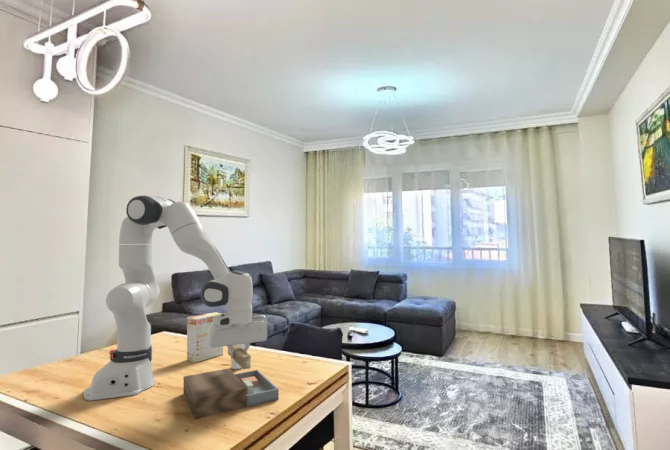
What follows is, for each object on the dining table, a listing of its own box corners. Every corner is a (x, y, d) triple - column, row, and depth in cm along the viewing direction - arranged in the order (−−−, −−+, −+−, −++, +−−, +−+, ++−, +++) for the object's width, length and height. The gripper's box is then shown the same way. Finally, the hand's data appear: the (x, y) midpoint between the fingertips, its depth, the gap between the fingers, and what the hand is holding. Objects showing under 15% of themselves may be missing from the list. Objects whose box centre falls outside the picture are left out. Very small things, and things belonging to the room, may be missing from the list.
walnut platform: (194, 419, 111) (194, 399, 111) (183, 393, 130) (183, 376, 130) (246, 407, 119) (246, 388, 120) (229, 384, 138) (229, 368, 139)
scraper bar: (243, 369, 120) (243, 357, 121) (227, 353, 138) (228, 342, 138) (250, 368, 122) (250, 355, 122) (234, 352, 139) (234, 341, 139)
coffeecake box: (215, 352, 179) (215, 311, 180) (223, 355, 175) (223, 313, 176) (186, 360, 168) (186, 316, 169) (194, 363, 163) (194, 318, 164)
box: (246, 407, 119) (246, 395, 119) (229, 384, 138) (229, 375, 138) (278, 399, 125) (278, 388, 125) (257, 378, 144) (257, 369, 144)
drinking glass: (236, 371, 152) (236, 334, 153) (226, 368, 156) (226, 332, 157) (249, 367, 158) (249, 331, 158) (239, 363, 162) (239, 329, 162)
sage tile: (247, 386, 122) (253, 385, 123) (243, 381, 127) (249, 380, 128) (247, 401, 122) (253, 400, 123) (243, 396, 127) (249, 394, 128)
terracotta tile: (258, 380, 136) (258, 385, 135) (254, 376, 140) (254, 381, 140) (244, 382, 133) (244, 388, 133) (240, 378, 138) (240, 384, 137)
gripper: (264, 312, 138) (263, 350, 138) (208, 317, 128) (206, 358, 127) (270, 316, 133) (269, 354, 132) (212, 321, 123) (210, 363, 122)
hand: (238, 356), depth 130 cm, fingers closed on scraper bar, 2 cm apart
